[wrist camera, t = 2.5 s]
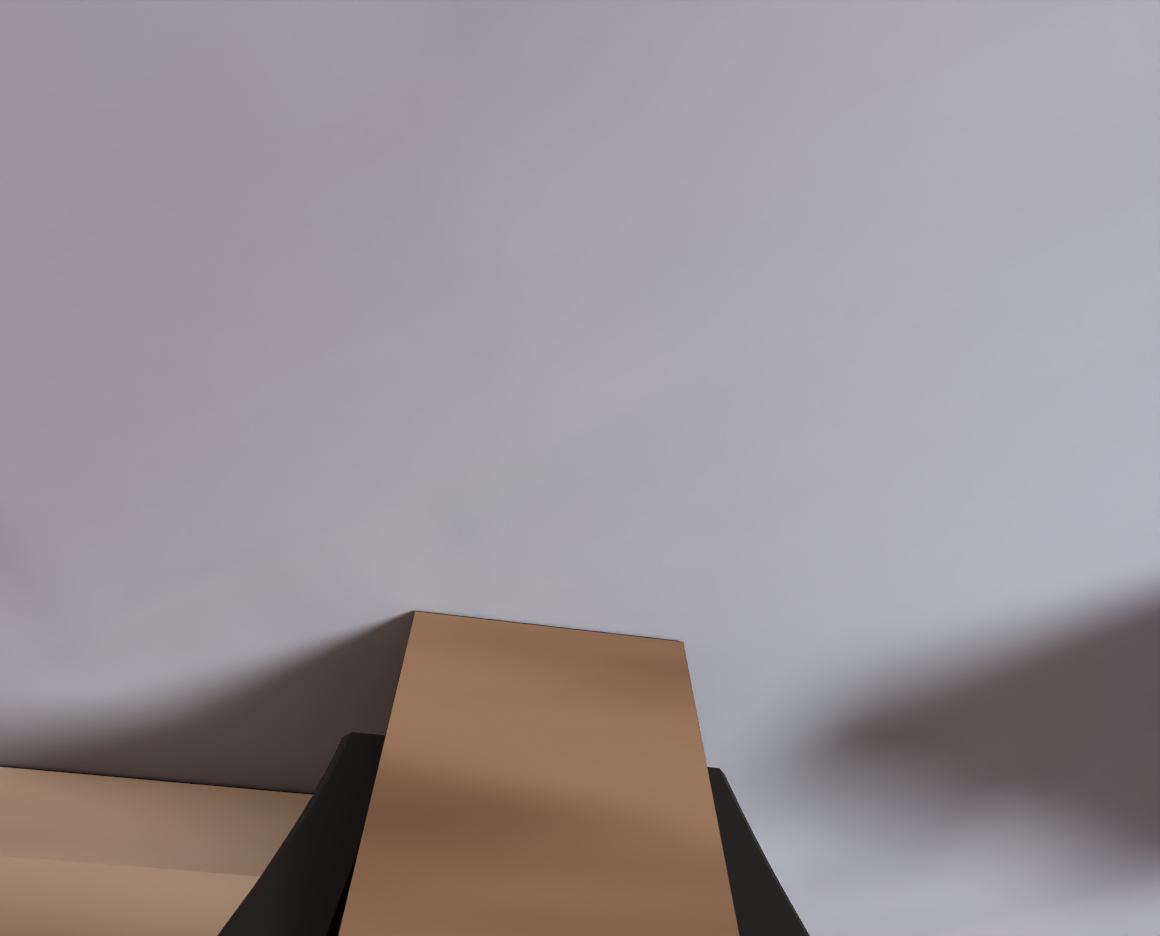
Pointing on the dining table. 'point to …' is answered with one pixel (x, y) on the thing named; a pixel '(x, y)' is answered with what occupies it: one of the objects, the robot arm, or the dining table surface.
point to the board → (131, 853)
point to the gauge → (540, 791)
